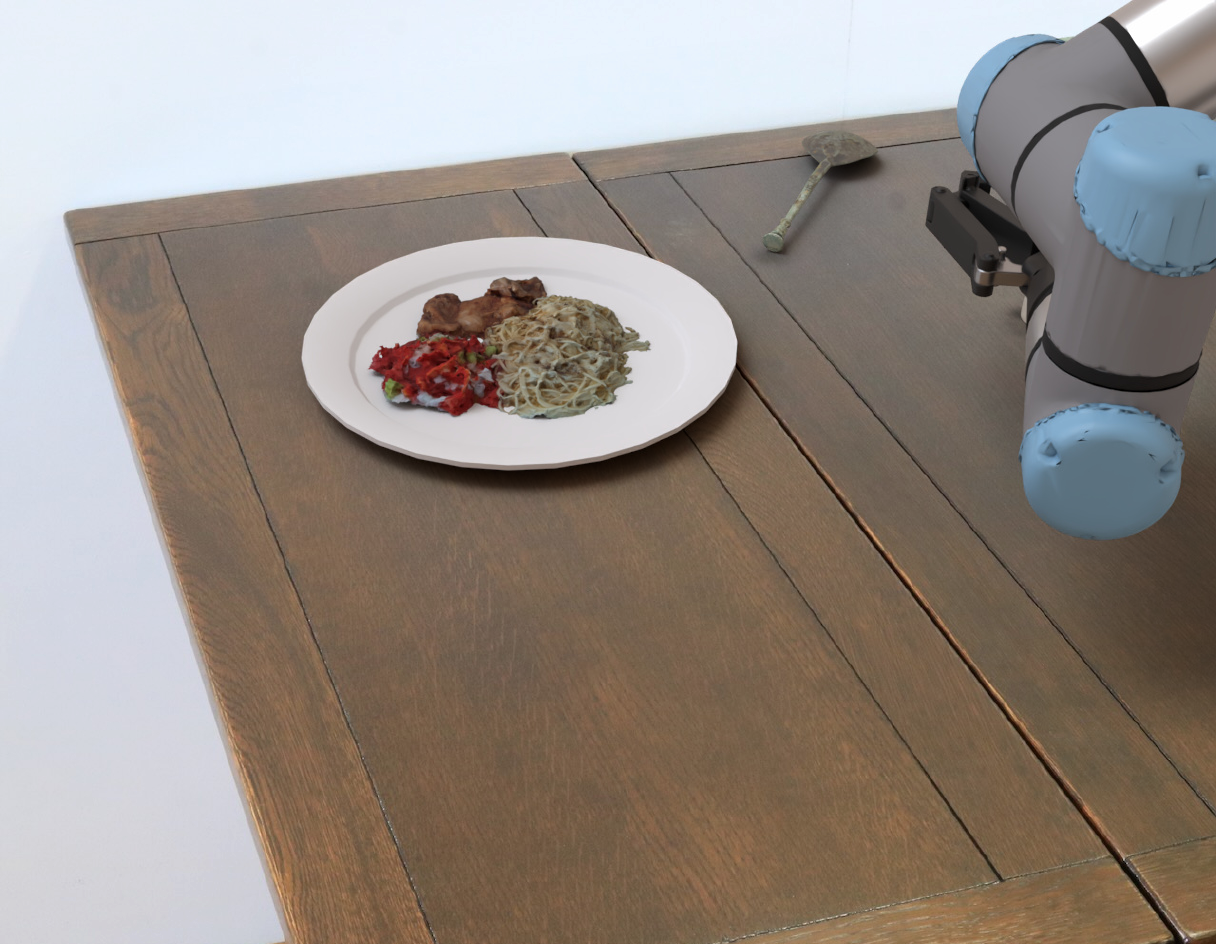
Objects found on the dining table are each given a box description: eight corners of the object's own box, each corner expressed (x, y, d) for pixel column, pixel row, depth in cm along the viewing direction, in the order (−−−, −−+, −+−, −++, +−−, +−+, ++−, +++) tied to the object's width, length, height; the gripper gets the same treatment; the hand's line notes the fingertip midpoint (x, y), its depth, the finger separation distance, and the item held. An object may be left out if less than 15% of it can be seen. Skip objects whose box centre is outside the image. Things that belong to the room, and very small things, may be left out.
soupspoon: (885, 159, 131) (814, 149, 134) (889, 121, 129) (816, 112, 132) (810, 260, 116) (730, 247, 118) (813, 218, 114) (731, 206, 116)
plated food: (812, 335, 108) (817, 293, 105) (572, 549, 89) (572, 503, 87) (483, 223, 120) (481, 184, 118) (212, 390, 101) (204, 347, 99)
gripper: (863, 362, 88) (893, 203, 103) (1308, 418, 84) (1269, 243, 99) (879, 246, 83) (908, 97, 99) (1353, 299, 79) (1305, 135, 94)
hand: (1089, 170), depth 99 cm, fingers open, 13 cm apart
